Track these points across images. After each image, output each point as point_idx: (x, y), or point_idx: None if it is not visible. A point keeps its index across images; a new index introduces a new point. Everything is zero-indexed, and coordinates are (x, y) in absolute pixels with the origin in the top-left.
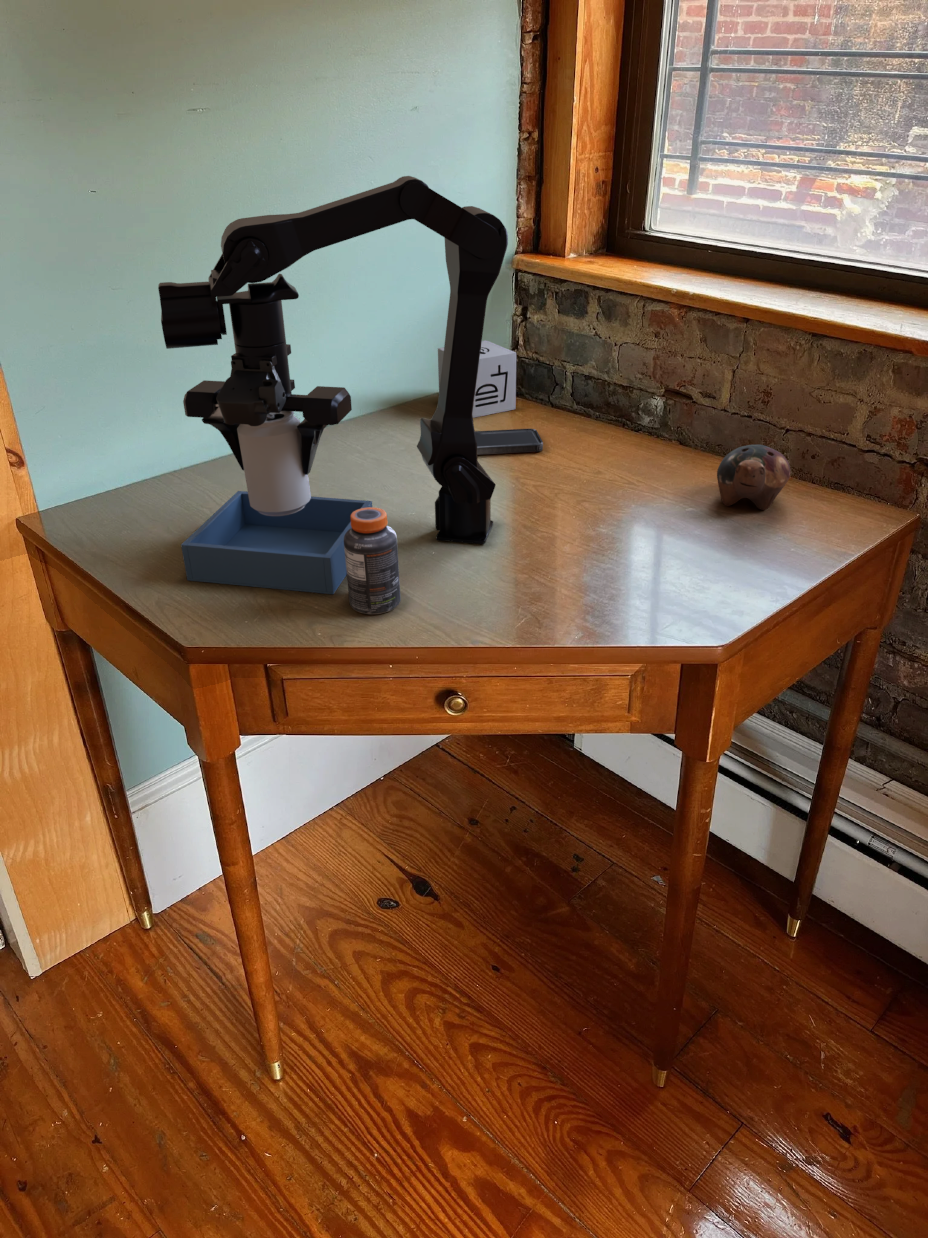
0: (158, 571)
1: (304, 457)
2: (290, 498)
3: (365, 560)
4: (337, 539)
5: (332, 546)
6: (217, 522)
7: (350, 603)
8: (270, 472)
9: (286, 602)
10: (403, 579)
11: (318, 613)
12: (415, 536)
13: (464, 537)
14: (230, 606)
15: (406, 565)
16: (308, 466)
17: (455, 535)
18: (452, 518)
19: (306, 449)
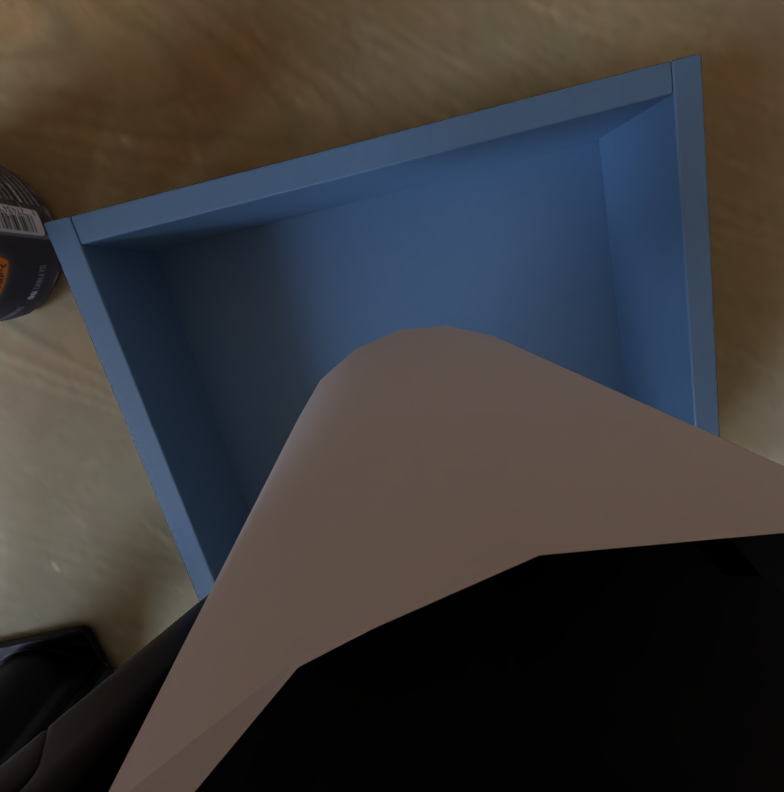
0: (739, 128)
1: (157, 660)
2: (303, 411)
3: None
4: (131, 379)
5: (107, 318)
6: (675, 351)
7: (9, 173)
8: (360, 393)
9: (228, 126)
10: (20, 405)
11: (93, 106)
12: (159, 624)
13: (11, 655)
14: (374, 16)
15: (69, 478)
16: (184, 614)
17: (33, 653)
18: (2, 698)
19: (64, 737)
